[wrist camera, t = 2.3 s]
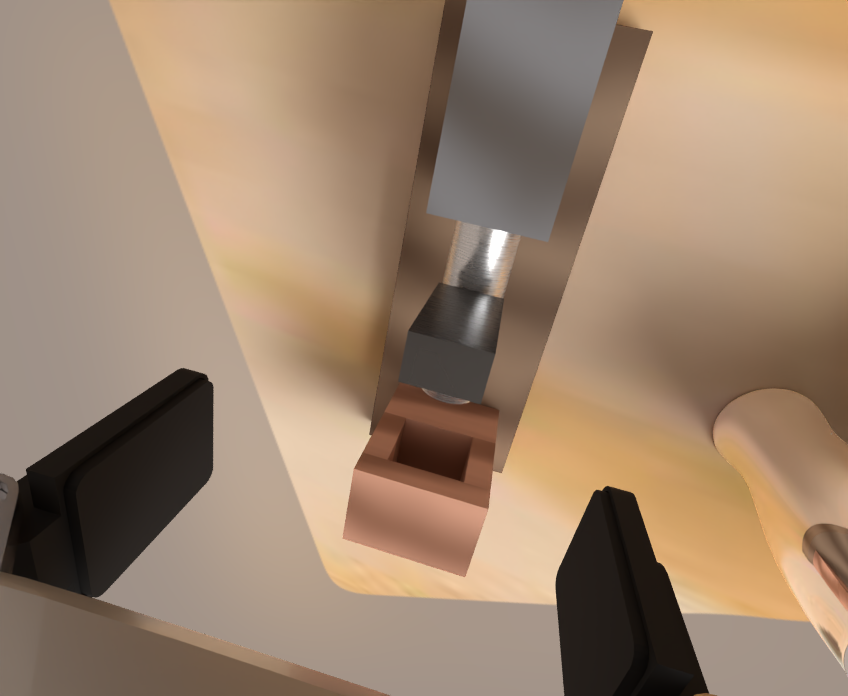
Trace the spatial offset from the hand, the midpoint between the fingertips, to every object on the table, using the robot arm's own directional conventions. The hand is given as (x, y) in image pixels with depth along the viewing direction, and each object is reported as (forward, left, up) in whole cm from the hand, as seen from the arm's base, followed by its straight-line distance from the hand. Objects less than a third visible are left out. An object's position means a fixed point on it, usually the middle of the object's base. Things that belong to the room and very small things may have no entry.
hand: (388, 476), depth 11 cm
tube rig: (0, 0, -21) cm, 21 cm away
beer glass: (+6, +20, -21) cm, 30 cm away
